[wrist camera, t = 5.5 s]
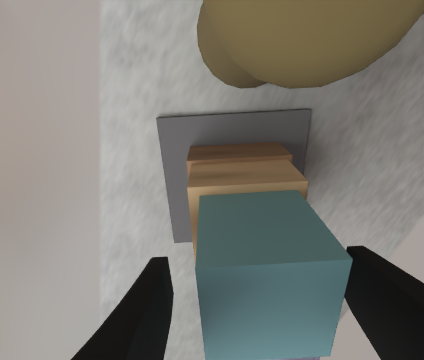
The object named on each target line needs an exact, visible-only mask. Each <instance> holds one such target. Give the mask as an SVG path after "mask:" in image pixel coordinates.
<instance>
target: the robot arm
mask: <svg viewBox="0 0 424 360" xmlns="http://www.w3.org/2000/svg"><path fill="white" fill-rule="evenodd" d="M346 251H347V253H348V254H349V255H350V257H351V258H352V259H353V261H352V265H351V269H350V273H349V277H348V282H347V286H346V290H345V294H344V297H345V299H346V301H347V303H348V305H349V307H350V310H351V311H352V313H353V315H354V316H355V318H356V320H357V321H358V323H359V325H360V326H361V328H362V329H363V331H364V333H365V334H366V336H367V338H368V339H369V341H370V343H371V344H372V346H373V347H374V349H375V350H376V352H377V354H378V356H379V357H380V359H381V360H424V283H422V282H421V281H419V280H418V279H416V278H414V277H413V276H411V275H410V274H408V273H406V272H405V271H403V270H402V269H400V268H398V267H397V266H395V265H394V264H392V263H390V262H389V261H387V260H386V259H384V258H382V257H381V256H379V255H378V254H376V253H374V252H373V251H371V250H369V249H368V248H366V247H364V246H349V247H347V250H346ZM173 295H174V293H173V287H172V281H171V275H170V269H169V263H168V257H152V258H151V259H150V261H149V262H148V264H147V265H146V267H145V268H144V270H143V271H142V273H141V274H140V275H139V277H138V278H137V280H136V281H135V283H134V284H133V285H132V287H131V288H130V289H129V291H128V292H127V293H126V295H125V296H124V297H123V299H122V300H121V301H120V303H119V304H118V305H117V307H116V308H115V309H114V310H113V312H112V313H111V314H110V315H109V317H108V318H107V319H106V320H105V321H104V323H103V324H102V325H101V326H100V328H99V329H98V330H97V331H96V332H95V333H94V335H93V336H92V337H91V338H90V339H89V340H88V341H87V343H86V344H85V345H84V346H83V347H82V348H81V349H80V350H79V351H78V352H77V353H76V354H75V356H74V357H73V358H72V359H71V360H163V359H164V354H165V349H166V344H167V339H168V334H169V329H170V324H171V317H172V306H173ZM319 358H320V357H303V358H286V359H268V360H319Z"/></svg>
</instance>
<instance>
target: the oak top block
mask: <svg viewBox="0 0 424 360" xmlns="http://www.w3.org/2000/svg"><path fill="white" fill-rule="evenodd" d="M307 189H308V180H307V179H306V178H305V177H304V176H303V175H302V174H301V173H300V172H299V171H298V170H297V169H296V168H295V167H294V166H293V165H292V164H291V162H290V161H289V160H270V161H252V162H234V163H216V164H198V165H191V168H190V174H189V180H188V185H187V192H188V201H189V211H190V220H191V230H192V239H193V249H194V258H195V263H196V247H197V230H198V214H199V197H200V196H202V195H218V194H235V193H251V192H268V191H285V190H298V191H299V192H300V194H301V195H302V196H303V197H304V199H305V200H306V197H307Z"/></svg>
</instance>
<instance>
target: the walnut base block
mask: <svg viewBox="0 0 424 360" xmlns="http://www.w3.org/2000/svg"><path fill="white" fill-rule="evenodd" d="M270 160H289V161H290V162H291V164H292V154H291V153H290V152H289V151H288V150H286V149H285V148H284V147H283V146H282V145H281V144H280V143H279V142H262V143H244V144H226V145H208V146H191V147H190V148H189V152H188V157H187V161H186V162H187V172H188V180H189V174H190V168H191V165H198V164H216V163H234V162H252V161H270Z"/></svg>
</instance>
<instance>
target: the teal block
mask: <svg viewBox="0 0 424 360" xmlns="http://www.w3.org/2000/svg"><path fill="white" fill-rule="evenodd" d="M352 261H353V259H352V258H351V257H350V255H349V254H348V253H347V251H346V250H345V249H344V248H343V246H342V245H341V244H340V243H339V241H338V240H337V239H336V238H335V236H334V235H333V234H332V233H331V231H330V230H329V229H328V228H327V226H326V225H325V224H324V223H323V221H322V220H321V219H320V218H319V216H318V215H317V214H316V213H315V211H314V210H313V209H312V208H311V206H310V205H309V204H308V203H307V201H306V200H305V199H304V197H303V196H302V195H301V194H300V192H299V191H298V190H285V191H268V192H251V193H235V194H218V195H202V196H200V197H199V214H198V230H197V247H196V263H195V271H196V280H197V289H198V298H199V307H200V316H201V324H202V333H203V342H204V351H205V360H268V359H286V358H303V357H320V356H330V354H331V349H332V345H333V341H334V337H335V332H336V328H337V324H338V320H339V316H340V311H341V307H342V303H343V299H344V294H345V290H346V286H347V282H348V277H349V273H350V269H351V265H352Z"/></svg>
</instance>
